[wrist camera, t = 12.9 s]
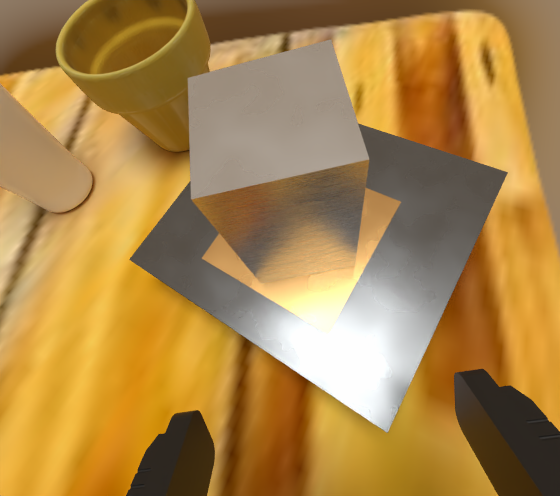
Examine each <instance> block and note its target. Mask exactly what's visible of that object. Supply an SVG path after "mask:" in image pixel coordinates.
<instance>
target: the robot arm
mask: <svg viewBox="0 0 560 496" xmlns="http://www.w3.org/2000/svg"><path fill="white" fill-rule="evenodd" d="M454 387H455V411H456V416H457V419H458V422H459V425H460V427H461V430H462V432H463V433H464V435H465V437H466V439H467V441H468V442H469V444H470V446H471V448H472V450H473V451H474V453H475V455H476V457H477V458H478V460H479V462H480V464H481V466H482V467H483V469H484V471H485V473H486V474H487V476H488V478H489V480H490V482H491V483H492V485H493V487H494V489H495V490H496V492H497V494H498V496H560V432H559V431H558V429H557V428H556V427H555V426H554V425H553V424H552V423H551V422H549V421H548V419H547V417H546V416H545V415H544V413H543V412H542V411H541V410H540V409H539V408H538V407H537V405H536V404H535V403H534V402H533V401H532V400H531V399H530V398H528V397H527V396H525V395H524V394H522V393H521V392H519V391H518V390H516V389H515V388H513V387H512V386H503V387H499V386H498V385H497V384H496V383H495V381H494V380H493V379H492V378H491V376H490V375H489V374H488V373H487V372H486V371H485V370H484V369H478V370H471V371H464V372H457V373H455V375H454ZM214 459H215V449H214V443H213V440H212V438H211V435H210V433H209V431H208V429H207V426H206V424H205V422H204V419H203V417H202V415H201V413H200V411H198V410H196V411H189V412H182V413H176V414H174V415H173V416H172V418H171V420H170V423H169V425H168V428H167V430H166V433H165V434H159V435H158V436H157V437H156V439H155V440H154V441H153V442H152V444H151V445H150V446H149V448H148V449H147V450H146V452H145V454H144V456H143V458H142V461H141V463H140V465H139V468H138V473H137V474H135V477H134V479H133V481H132V484H131V489H130V490H128V493H127V495H126V496H207V493H208V488H209V484H210V479H211V475H212V470H213V466H214Z"/></svg>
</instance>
